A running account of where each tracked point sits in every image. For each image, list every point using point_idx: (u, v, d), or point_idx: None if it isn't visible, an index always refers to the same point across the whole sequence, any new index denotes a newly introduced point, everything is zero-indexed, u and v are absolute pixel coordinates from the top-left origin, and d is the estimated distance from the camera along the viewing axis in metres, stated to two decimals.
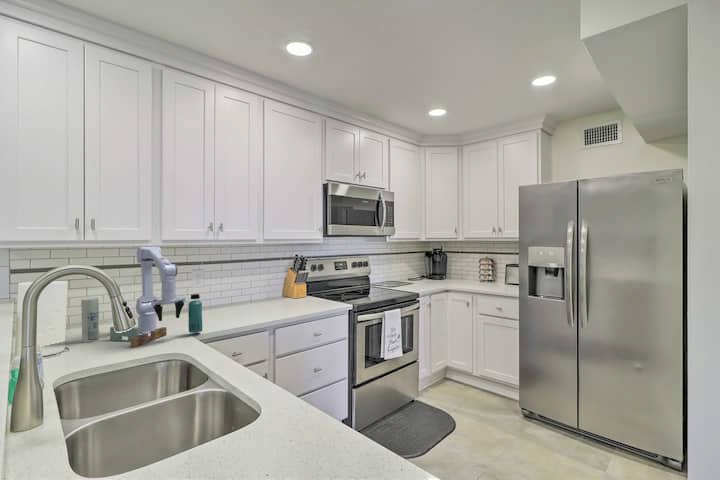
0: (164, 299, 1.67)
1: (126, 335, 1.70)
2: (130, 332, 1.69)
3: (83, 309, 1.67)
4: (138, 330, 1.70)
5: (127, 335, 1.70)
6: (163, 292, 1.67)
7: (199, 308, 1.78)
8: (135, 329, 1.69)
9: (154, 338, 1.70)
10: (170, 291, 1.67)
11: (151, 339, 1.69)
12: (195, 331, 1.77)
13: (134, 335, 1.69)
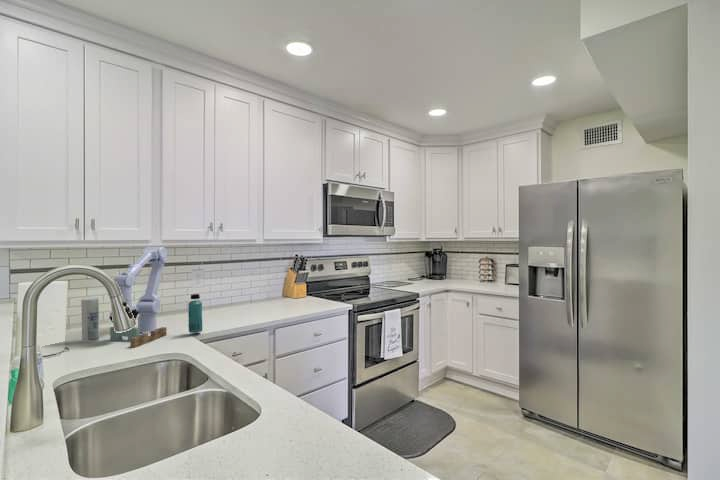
0: None
1: (126, 335, 1.70)
2: (130, 332, 1.69)
3: (83, 309, 1.67)
4: (138, 330, 1.70)
5: (127, 335, 1.70)
6: None
7: (199, 308, 1.78)
8: (135, 329, 1.69)
9: (154, 338, 1.70)
10: None
11: (151, 339, 1.69)
12: (195, 331, 1.77)
13: (134, 335, 1.69)
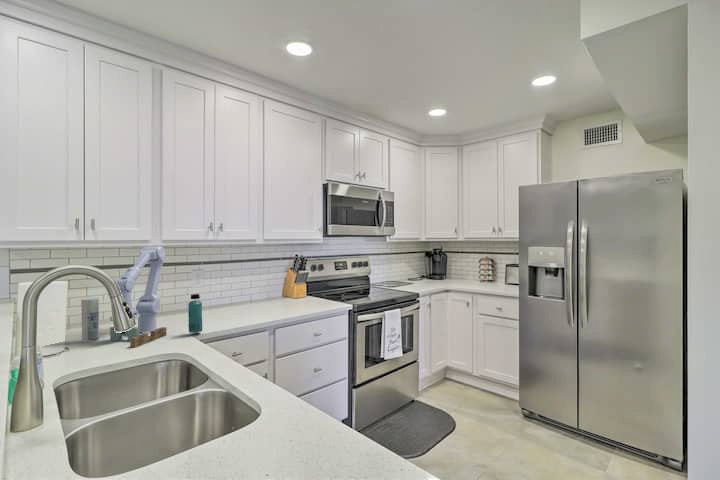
0: None
1: (126, 335, 1.70)
2: (130, 332, 1.69)
3: (83, 309, 1.67)
4: (138, 330, 1.70)
5: (127, 335, 1.70)
6: None
7: (199, 308, 1.78)
8: (135, 329, 1.69)
9: (154, 338, 1.70)
10: None
11: (151, 339, 1.69)
12: (195, 331, 1.77)
13: (134, 335, 1.69)
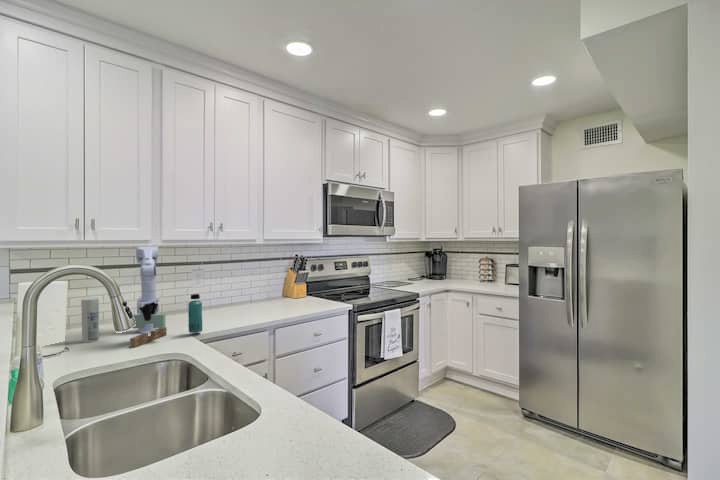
0: None
1: (151, 322, 1.68)
2: (156, 319, 1.68)
3: (83, 309, 1.67)
4: (164, 317, 1.69)
5: (152, 322, 1.68)
6: None
7: (199, 308, 1.78)
8: (162, 316, 1.68)
9: (154, 338, 1.70)
10: None
11: (151, 339, 1.69)
12: (195, 331, 1.77)
13: (161, 322, 1.68)
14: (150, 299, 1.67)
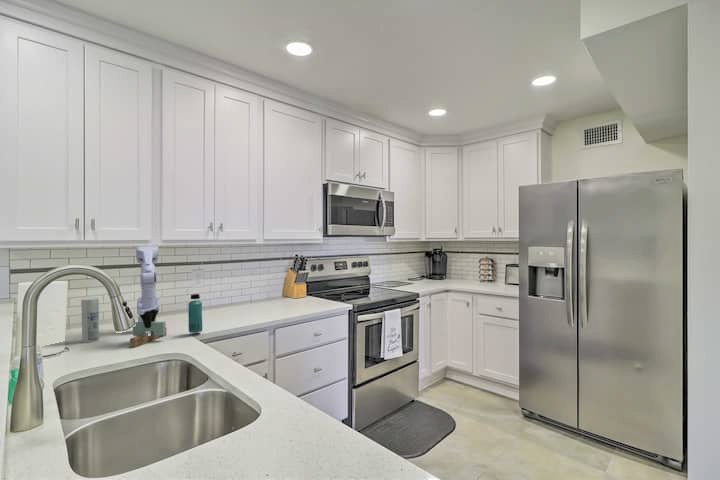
0: None
1: (151, 330, 1.68)
2: (156, 326, 1.68)
3: (83, 309, 1.67)
4: (164, 324, 1.69)
5: (153, 330, 1.68)
6: None
7: (199, 308, 1.78)
8: (162, 323, 1.68)
9: (154, 338, 1.70)
10: None
11: (151, 339, 1.69)
12: (195, 331, 1.77)
13: (161, 329, 1.68)
14: (150, 306, 1.67)
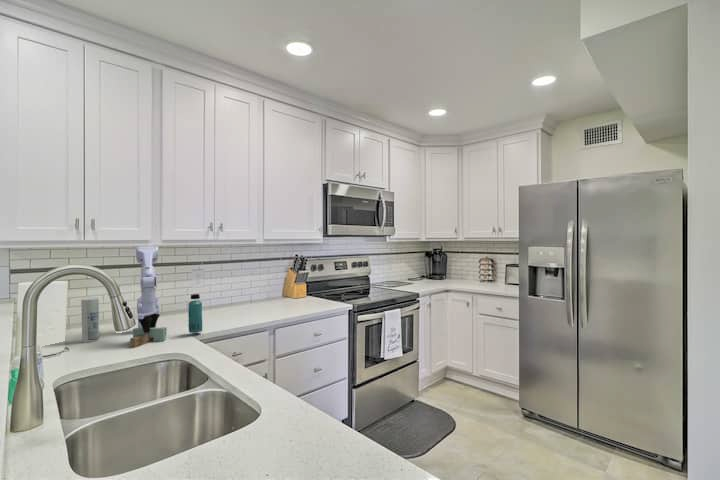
0: None
1: (152, 336, 1.68)
2: (156, 332, 1.68)
3: (83, 309, 1.67)
4: (164, 330, 1.69)
5: (153, 336, 1.68)
6: None
7: (199, 308, 1.78)
8: (162, 329, 1.68)
9: None
10: None
11: (151, 339, 1.69)
12: (195, 331, 1.77)
13: (161, 335, 1.68)
14: (150, 310, 1.67)
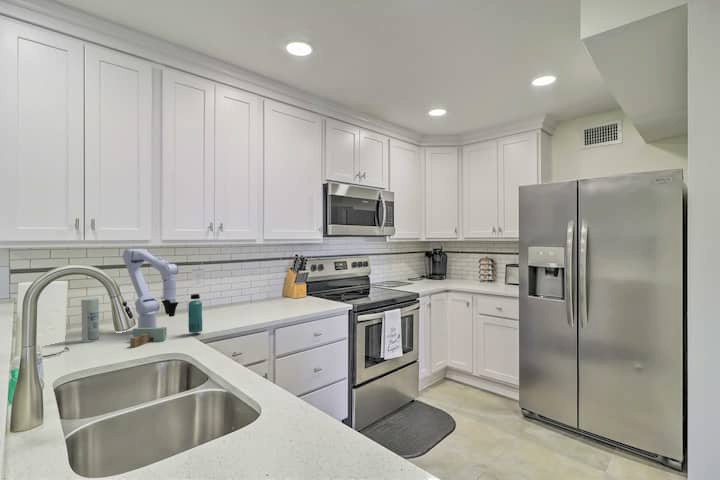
0: None
1: (152, 336, 1.68)
2: (156, 332, 1.68)
3: (83, 309, 1.67)
4: (164, 330, 1.69)
5: (153, 336, 1.68)
6: None
7: (199, 308, 1.78)
8: (162, 329, 1.68)
9: None
10: (163, 289, 1.80)
11: (151, 339, 1.69)
12: (195, 331, 1.77)
13: (161, 335, 1.68)
14: (174, 295, 1.81)
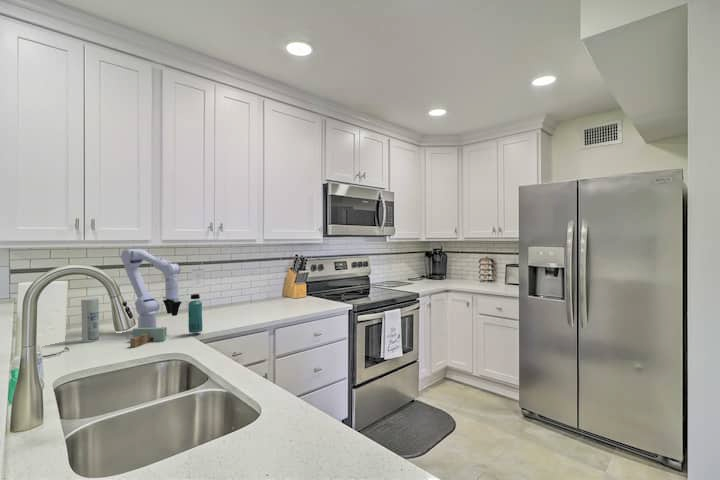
0: None
1: (152, 336, 1.68)
2: (156, 332, 1.68)
3: (83, 309, 1.67)
4: (164, 330, 1.69)
5: (153, 336, 1.68)
6: None
7: (199, 308, 1.78)
8: (162, 329, 1.68)
9: None
10: (165, 288, 1.81)
11: (151, 339, 1.69)
12: (195, 331, 1.77)
13: (161, 335, 1.68)
14: (177, 294, 1.82)
